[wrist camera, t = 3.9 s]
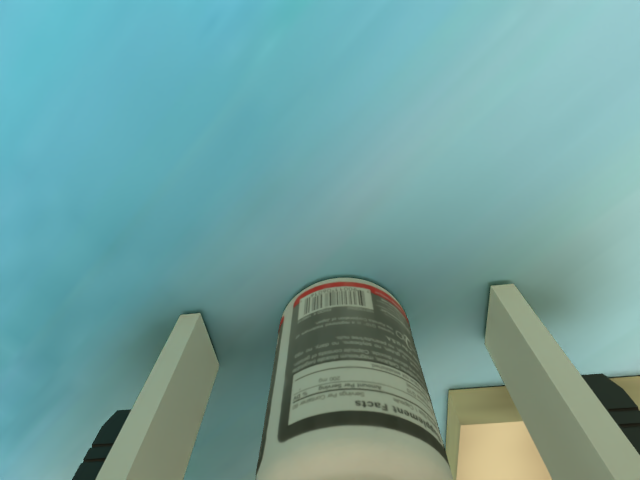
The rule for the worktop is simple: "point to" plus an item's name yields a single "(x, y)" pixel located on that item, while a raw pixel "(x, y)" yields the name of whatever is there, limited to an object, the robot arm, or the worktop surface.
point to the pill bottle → (348, 392)
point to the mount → (498, 435)
